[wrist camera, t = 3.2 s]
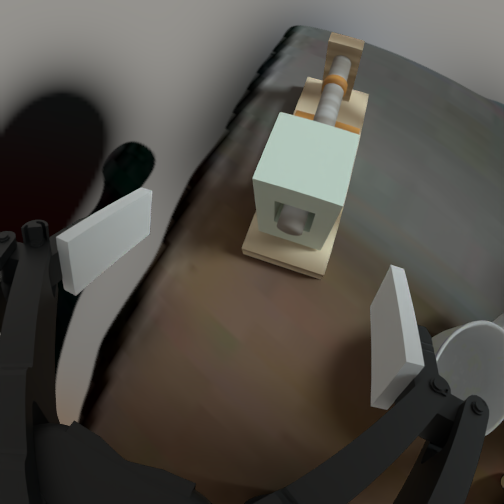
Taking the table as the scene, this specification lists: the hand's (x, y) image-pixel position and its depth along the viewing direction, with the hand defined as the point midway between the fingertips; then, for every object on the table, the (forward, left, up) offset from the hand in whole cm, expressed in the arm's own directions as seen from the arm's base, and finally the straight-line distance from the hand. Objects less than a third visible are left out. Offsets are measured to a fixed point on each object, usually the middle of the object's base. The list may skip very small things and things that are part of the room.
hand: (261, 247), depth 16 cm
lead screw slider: (-10, -11, -15) cm, 21 cm away
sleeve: (-5, -6, -12) cm, 15 cm away
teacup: (-16, +15, -15) cm, 26 cm away
